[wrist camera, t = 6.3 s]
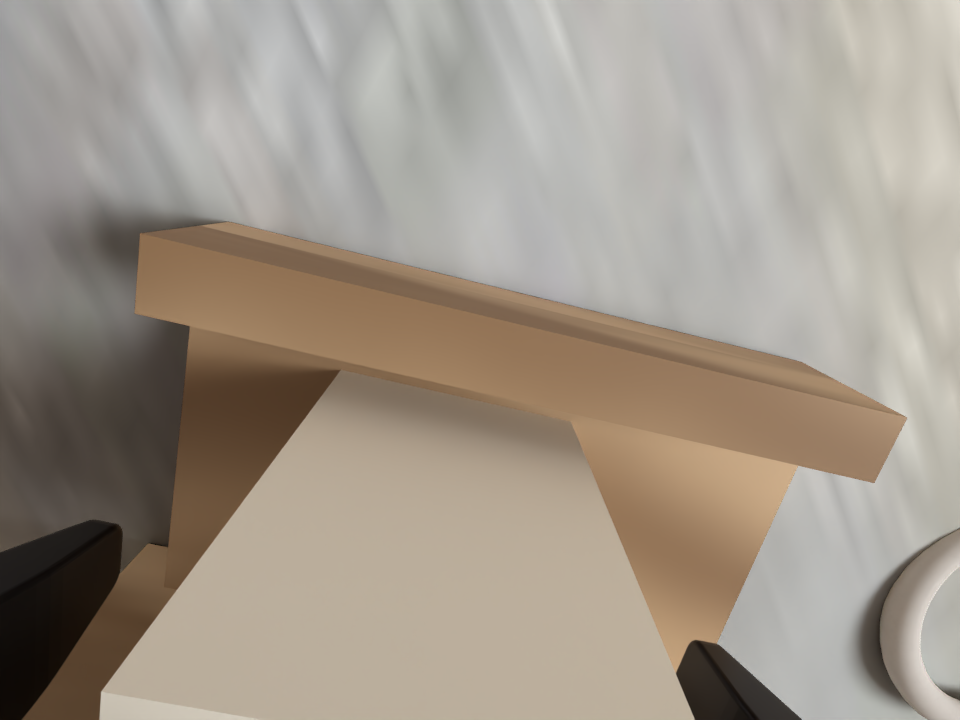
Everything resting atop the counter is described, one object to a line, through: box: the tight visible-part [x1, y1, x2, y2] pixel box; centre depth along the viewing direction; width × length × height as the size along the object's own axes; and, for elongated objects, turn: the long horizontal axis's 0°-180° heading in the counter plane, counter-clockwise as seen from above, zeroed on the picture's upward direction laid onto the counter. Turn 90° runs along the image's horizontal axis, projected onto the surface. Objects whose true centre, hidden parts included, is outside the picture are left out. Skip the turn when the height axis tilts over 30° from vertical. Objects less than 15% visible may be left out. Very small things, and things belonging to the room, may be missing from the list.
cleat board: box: [22, 222, 907, 720], centre depth 10 cm, size 9×14×6 cm, turn 76°
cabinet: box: [99, 370, 695, 720], centre depth 7 cm, size 5×4×8 cm
